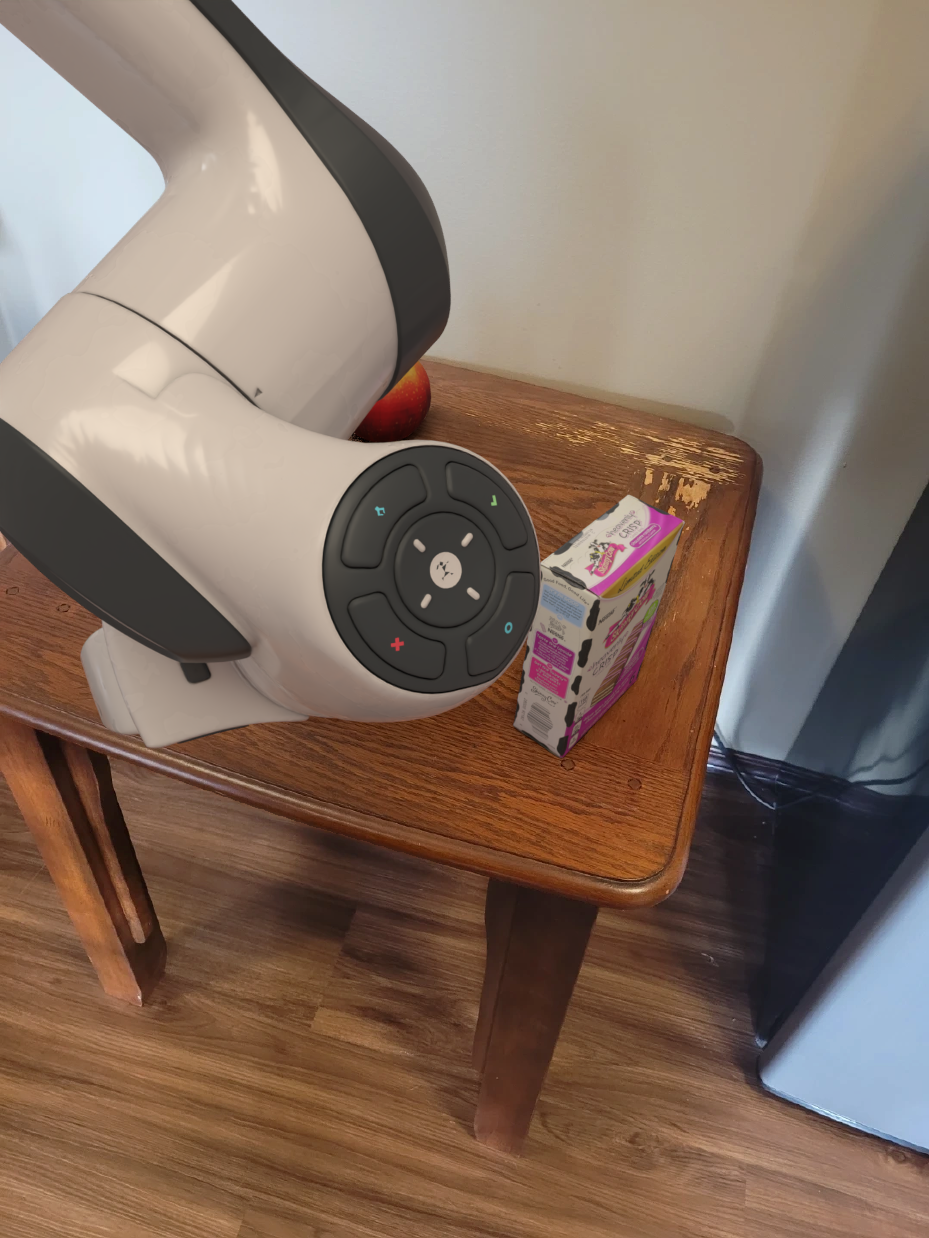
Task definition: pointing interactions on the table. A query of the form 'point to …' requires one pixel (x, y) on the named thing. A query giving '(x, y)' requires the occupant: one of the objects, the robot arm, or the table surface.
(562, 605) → the candy bar box
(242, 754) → the table surface
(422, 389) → the fruit
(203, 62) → the robot arm
